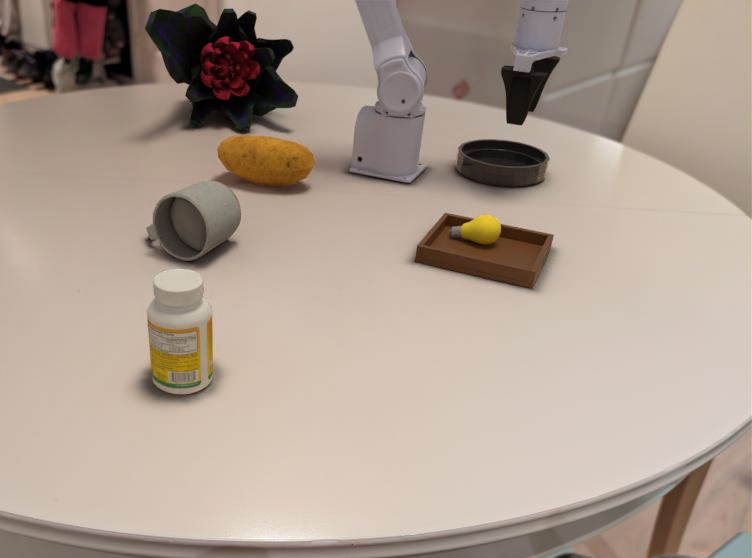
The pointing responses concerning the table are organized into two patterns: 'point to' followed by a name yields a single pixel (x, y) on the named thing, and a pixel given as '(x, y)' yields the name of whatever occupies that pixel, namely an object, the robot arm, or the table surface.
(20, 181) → the table surface
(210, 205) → the ceramic mug
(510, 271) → the tray
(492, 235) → the light bulb
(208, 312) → the supplement bottle
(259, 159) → the potato
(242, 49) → the decorative plant
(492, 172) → the pan
